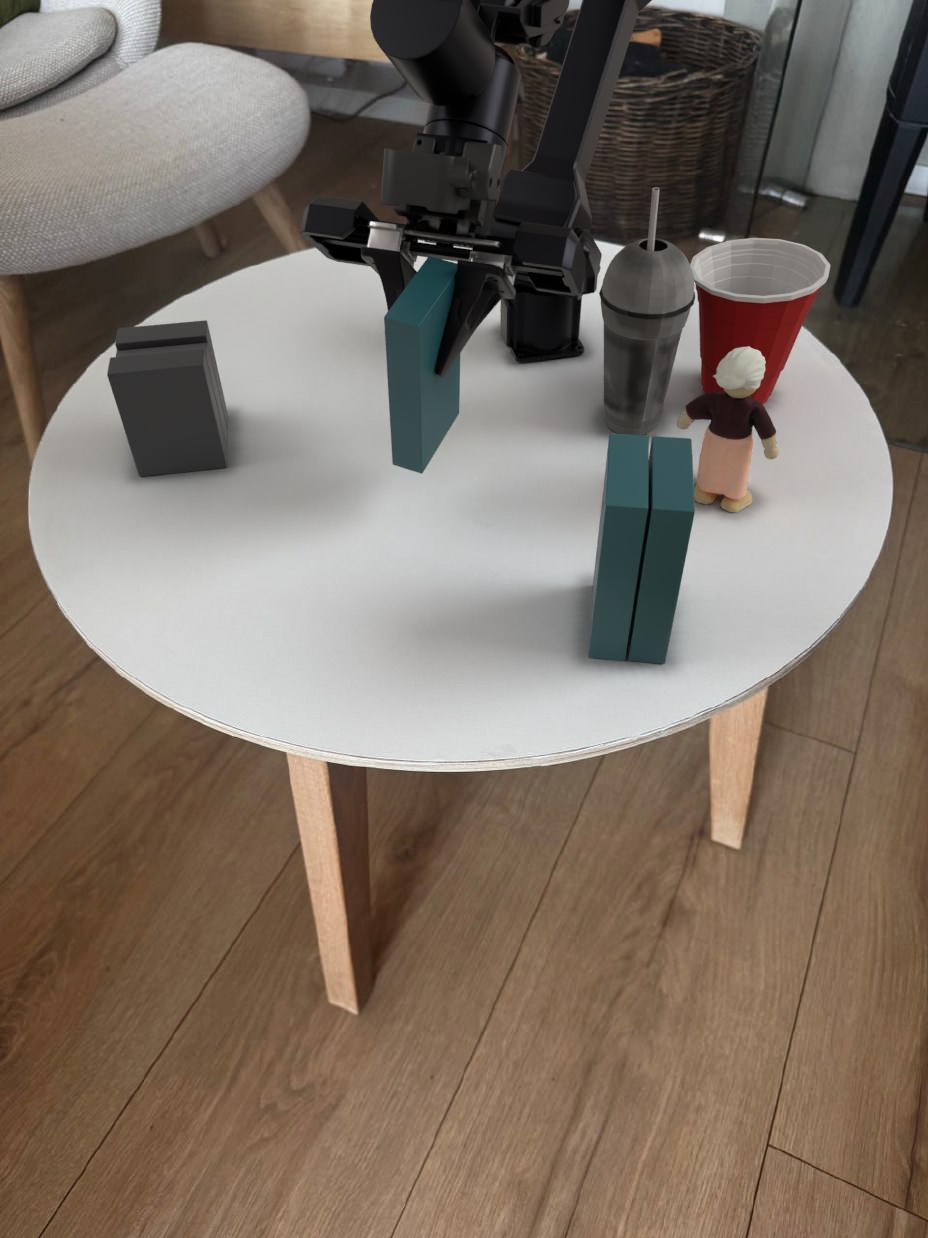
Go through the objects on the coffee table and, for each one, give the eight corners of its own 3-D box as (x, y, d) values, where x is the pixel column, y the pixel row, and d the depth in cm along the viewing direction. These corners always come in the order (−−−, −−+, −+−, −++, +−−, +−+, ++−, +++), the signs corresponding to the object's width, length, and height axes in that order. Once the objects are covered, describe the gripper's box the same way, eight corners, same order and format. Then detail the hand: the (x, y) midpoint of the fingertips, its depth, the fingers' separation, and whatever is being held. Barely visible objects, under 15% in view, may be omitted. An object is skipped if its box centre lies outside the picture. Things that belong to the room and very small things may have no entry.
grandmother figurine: (768, 490, 77) (805, 344, 68) (761, 520, 75) (799, 373, 66) (670, 471, 79) (693, 327, 70) (660, 500, 77) (684, 355, 67)
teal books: (592, 584, 70) (609, 432, 61) (664, 590, 70) (691, 437, 60) (588, 657, 65) (605, 505, 56) (664, 664, 65) (695, 511, 56)
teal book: (430, 404, 76) (428, 255, 66) (459, 413, 76) (462, 264, 65) (392, 464, 72) (383, 316, 62) (422, 474, 72) (418, 326, 61)
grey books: (228, 414, 86) (205, 313, 79) (227, 467, 80) (203, 364, 73) (145, 422, 85) (115, 322, 78) (139, 477, 80) (106, 374, 73)
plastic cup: (696, 347, 92) (718, 220, 83) (812, 378, 88) (847, 248, 79) (650, 405, 85) (669, 274, 77) (773, 442, 82) (807, 308, 73)
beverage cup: (685, 407, 85) (725, 170, 71) (660, 454, 81) (697, 211, 66) (604, 389, 87) (627, 155, 73) (575, 433, 83) (594, 193, 68)
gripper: (290, 65, 61) (242, 320, 62) (589, 94, 56) (532, 367, 58) (351, 145, 71) (310, 361, 73) (606, 175, 67) (558, 403, 68)
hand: (419, 372), depth 67 cm, fingers closed on teal book, 2 cm apart
